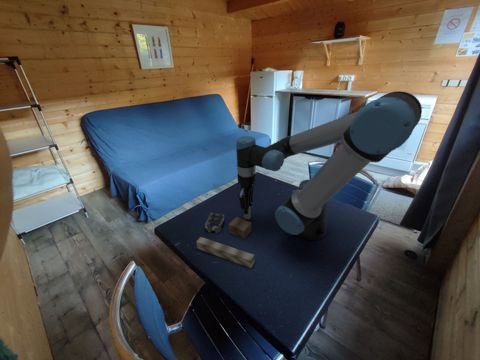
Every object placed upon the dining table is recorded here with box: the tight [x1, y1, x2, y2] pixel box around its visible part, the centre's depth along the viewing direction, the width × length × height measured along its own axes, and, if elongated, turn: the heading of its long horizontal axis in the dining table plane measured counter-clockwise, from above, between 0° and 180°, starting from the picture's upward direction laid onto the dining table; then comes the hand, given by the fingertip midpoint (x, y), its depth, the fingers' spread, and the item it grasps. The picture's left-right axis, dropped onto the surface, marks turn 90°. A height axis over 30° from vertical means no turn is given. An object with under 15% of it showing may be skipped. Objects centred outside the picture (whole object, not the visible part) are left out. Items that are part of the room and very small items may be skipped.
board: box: [195, 236, 255, 269], centre depth 88 cm, size 24×3×4 cm, turn 64°
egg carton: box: [204, 212, 225, 234], centre depth 104 cm, size 11×8×4 cm
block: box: [228, 216, 253, 240], centre depth 99 cm, size 8×6×5 cm
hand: (247, 217), depth 106 cm, fingers closed
